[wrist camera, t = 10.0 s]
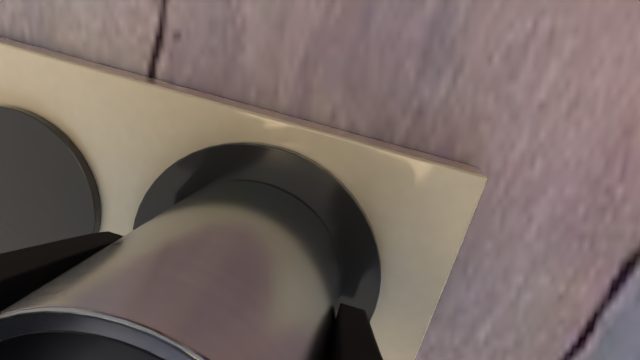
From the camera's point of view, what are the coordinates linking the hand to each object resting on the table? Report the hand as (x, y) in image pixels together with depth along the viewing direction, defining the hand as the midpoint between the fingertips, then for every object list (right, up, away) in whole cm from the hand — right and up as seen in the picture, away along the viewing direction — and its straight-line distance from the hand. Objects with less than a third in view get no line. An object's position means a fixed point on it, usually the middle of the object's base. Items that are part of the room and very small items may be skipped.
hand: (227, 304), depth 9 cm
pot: (0, 0, +2) cm, 2 cm away
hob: (-2, +2, +3) cm, 4 cm away
